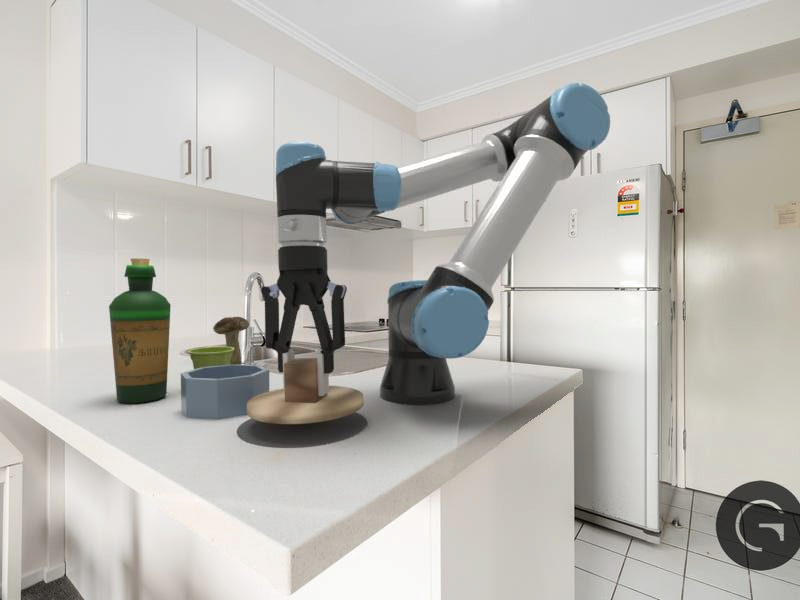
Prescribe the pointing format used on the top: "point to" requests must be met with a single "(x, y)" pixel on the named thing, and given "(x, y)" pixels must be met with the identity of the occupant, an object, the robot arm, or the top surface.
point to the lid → (303, 398)
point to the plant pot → (211, 356)
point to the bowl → (221, 390)
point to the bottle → (140, 337)
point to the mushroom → (232, 334)
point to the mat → (301, 432)
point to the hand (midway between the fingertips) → (306, 392)
